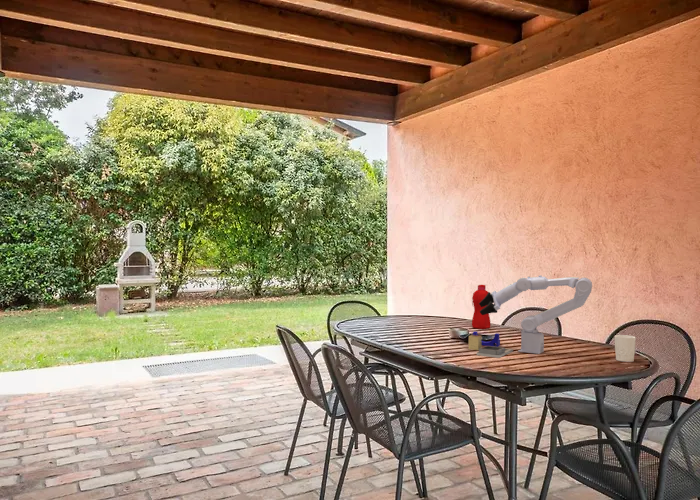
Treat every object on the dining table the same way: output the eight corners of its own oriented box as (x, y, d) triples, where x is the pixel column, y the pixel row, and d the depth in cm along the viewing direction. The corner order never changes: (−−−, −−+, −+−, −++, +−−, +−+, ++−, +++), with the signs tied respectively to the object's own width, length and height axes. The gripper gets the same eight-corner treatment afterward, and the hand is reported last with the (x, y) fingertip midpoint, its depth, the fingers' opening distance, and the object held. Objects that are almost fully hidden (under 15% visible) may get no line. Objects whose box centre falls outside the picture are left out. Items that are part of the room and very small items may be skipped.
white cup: (624, 362, 230) (624, 338, 230) (610, 358, 238) (610, 335, 238) (639, 361, 232) (640, 337, 232) (625, 358, 240) (625, 334, 240)
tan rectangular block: (481, 348, 258) (481, 335, 258) (477, 350, 254) (478, 336, 254) (472, 347, 260) (472, 334, 260) (468, 349, 257) (468, 335, 257)
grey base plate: (512, 351, 252) (513, 345, 252) (499, 357, 237) (499, 351, 237) (491, 348, 258) (491, 342, 258) (476, 355, 243) (476, 348, 243)
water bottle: (477, 326, 331) (477, 283, 331) (492, 328, 323) (493, 284, 322) (467, 327, 325) (467, 284, 325) (482, 329, 317) (483, 285, 317)
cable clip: (499, 345, 268) (500, 333, 268) (497, 347, 264) (498, 334, 264) (474, 343, 273) (475, 331, 273) (472, 344, 269) (472, 332, 269)
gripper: (499, 280, 262) (474, 295, 267) (502, 295, 249) (476, 310, 254) (508, 292, 264) (483, 306, 269) (511, 307, 251) (485, 321, 256)
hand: (480, 309), depth 262 cm, fingers open, 7 cm apart
